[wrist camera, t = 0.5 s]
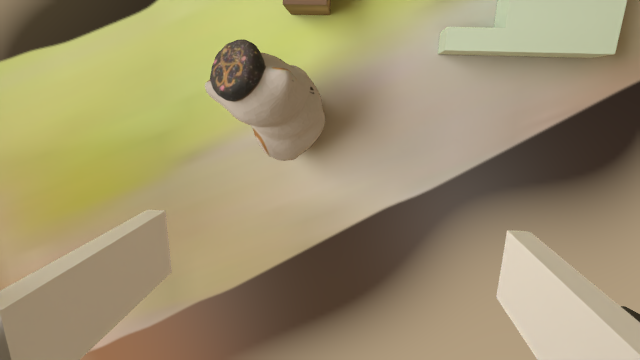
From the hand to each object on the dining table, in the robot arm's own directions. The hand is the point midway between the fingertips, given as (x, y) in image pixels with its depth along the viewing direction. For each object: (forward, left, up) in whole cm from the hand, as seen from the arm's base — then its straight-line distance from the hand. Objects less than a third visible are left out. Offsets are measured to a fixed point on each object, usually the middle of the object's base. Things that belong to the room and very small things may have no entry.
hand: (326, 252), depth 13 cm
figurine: (-4, -7, -26) cm, 27 cm away
